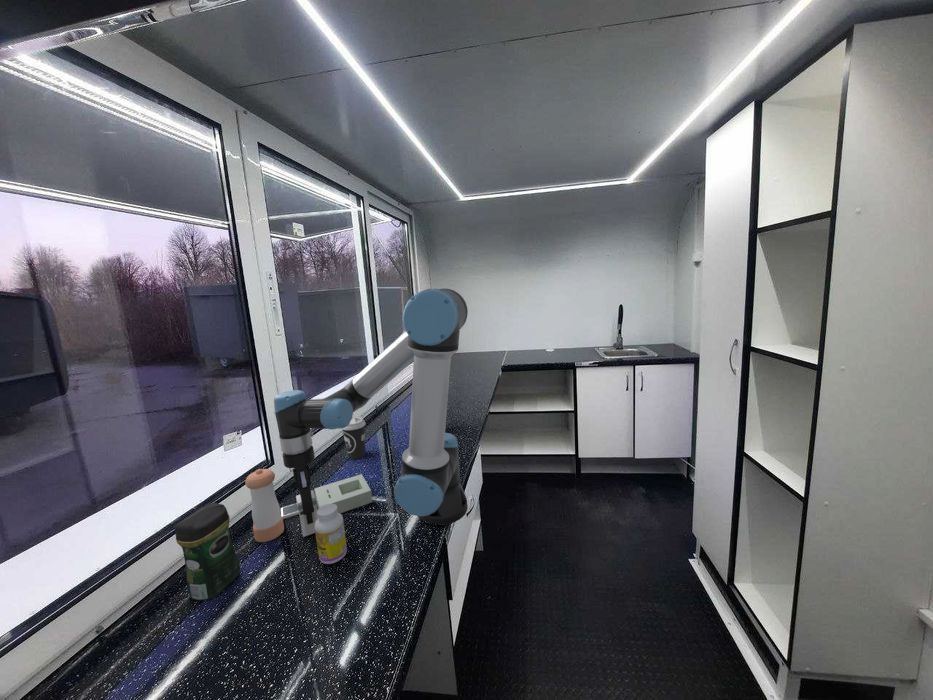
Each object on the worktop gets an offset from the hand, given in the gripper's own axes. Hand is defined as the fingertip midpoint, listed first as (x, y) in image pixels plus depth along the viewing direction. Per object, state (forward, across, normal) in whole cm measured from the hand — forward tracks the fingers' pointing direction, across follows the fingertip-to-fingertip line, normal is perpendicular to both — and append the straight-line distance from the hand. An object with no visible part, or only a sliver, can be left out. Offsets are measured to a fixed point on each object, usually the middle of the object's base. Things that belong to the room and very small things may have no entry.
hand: (310, 527), depth 97 cm
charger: (+1, 0, 0) cm, 1 cm away
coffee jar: (+1, -7, +21) cm, 23 cm away
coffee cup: (+1, +40, -22) cm, 45 cm away
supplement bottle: (+2, -13, -4) cm, 14 cm away
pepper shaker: (+1, +6, +10) cm, 12 cm away
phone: (+1, +13, +2) cm, 14 cm away
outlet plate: (+1, +10, -11) cm, 15 cm away
